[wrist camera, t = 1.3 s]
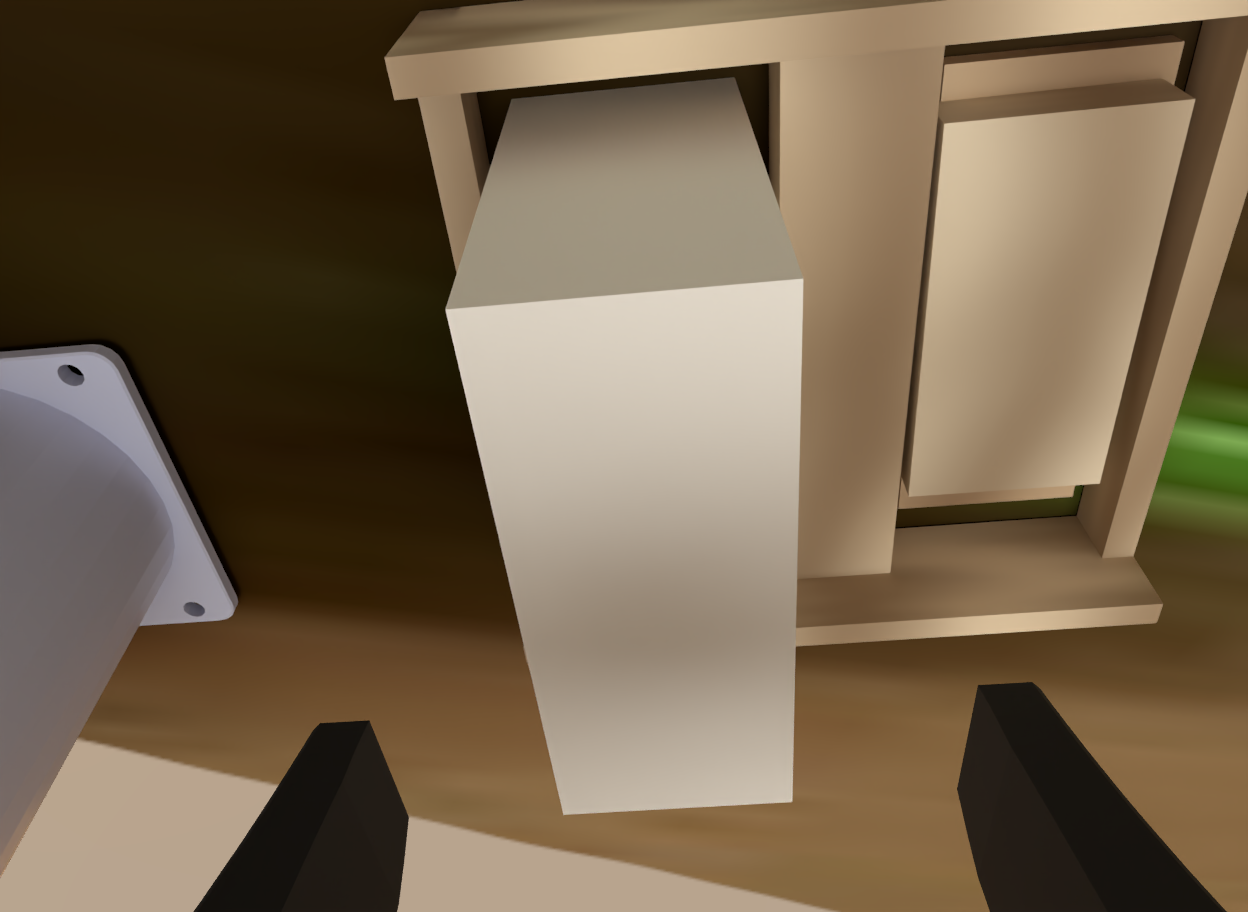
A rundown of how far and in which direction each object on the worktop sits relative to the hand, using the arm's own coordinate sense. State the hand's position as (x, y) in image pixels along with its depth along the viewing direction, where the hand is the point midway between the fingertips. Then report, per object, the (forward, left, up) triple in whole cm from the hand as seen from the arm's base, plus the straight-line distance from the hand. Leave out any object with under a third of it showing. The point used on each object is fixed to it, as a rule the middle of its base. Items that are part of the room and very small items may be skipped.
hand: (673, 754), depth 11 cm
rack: (+4, 0, -10) cm, 11 cm away
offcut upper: (+7, 0, -10) cm, 12 cm away
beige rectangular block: (0, 0, -11) cm, 11 cm away
